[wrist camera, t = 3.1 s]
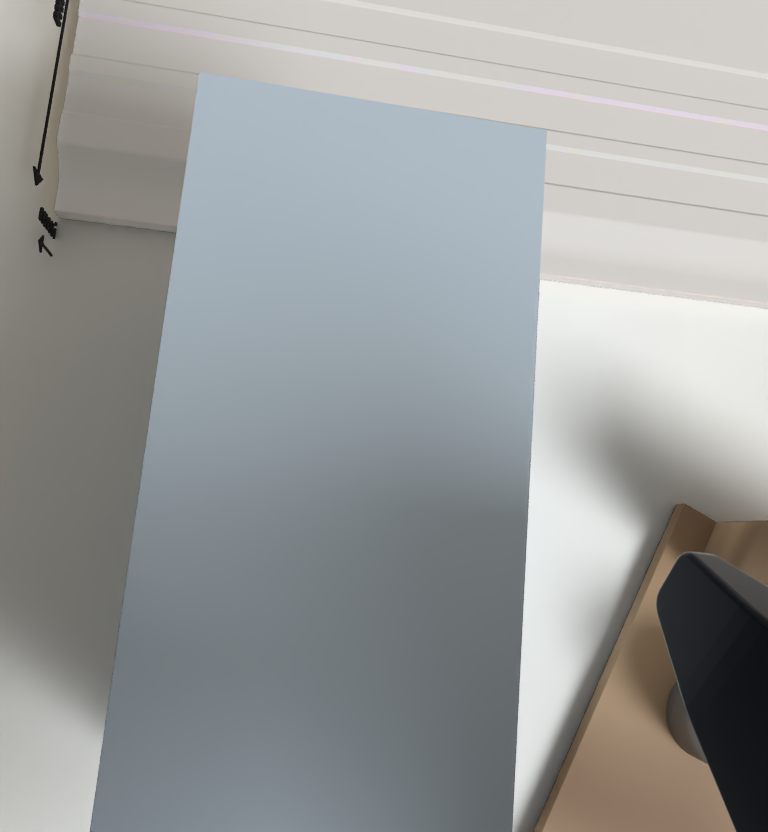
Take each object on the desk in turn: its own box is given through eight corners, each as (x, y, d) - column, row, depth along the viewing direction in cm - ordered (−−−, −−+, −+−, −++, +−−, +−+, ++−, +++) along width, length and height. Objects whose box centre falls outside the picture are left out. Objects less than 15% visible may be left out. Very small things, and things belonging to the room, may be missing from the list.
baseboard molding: (1086, 402, 23) (1053, 60, 25) (1202, 382, 20) (1154, -2, 22) (52, 279, 19) (117, -120, 21) (13, 233, 16) (92, -225, 18)
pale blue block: (385, 795, 17) (500, 1061, 9) (170, 786, 17) (56, 1063, 8) (423, 314, 19) (547, 130, 11) (234, 289, 19) (200, 71, 10)
